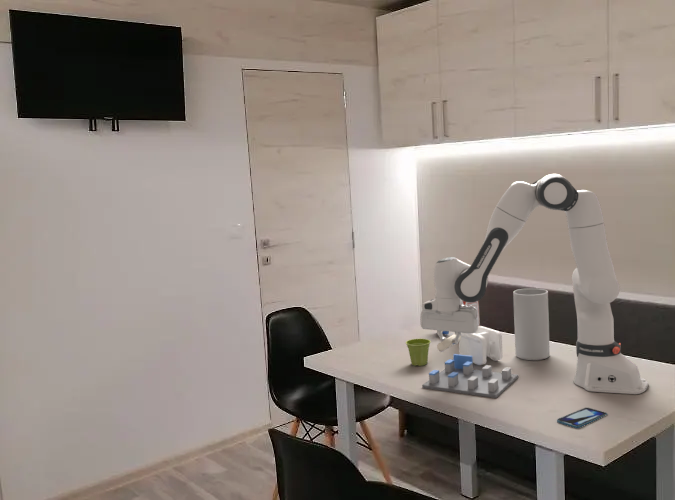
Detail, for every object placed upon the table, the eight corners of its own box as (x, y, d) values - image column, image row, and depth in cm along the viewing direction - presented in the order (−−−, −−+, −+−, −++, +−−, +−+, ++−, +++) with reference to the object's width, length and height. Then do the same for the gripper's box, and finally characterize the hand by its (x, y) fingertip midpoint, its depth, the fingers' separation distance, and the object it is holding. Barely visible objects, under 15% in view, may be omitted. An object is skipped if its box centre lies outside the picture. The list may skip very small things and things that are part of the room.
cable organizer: (504, 362, 248) (503, 332, 247) (481, 368, 244) (480, 337, 243) (480, 353, 262) (478, 324, 260) (457, 358, 258) (456, 329, 256)
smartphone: (608, 413, 194) (577, 426, 185) (609, 416, 194) (577, 430, 185) (586, 406, 200) (555, 419, 191) (586, 410, 200) (555, 422, 191)
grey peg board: (518, 377, 231) (517, 360, 230) (496, 398, 213) (495, 380, 212) (448, 369, 245) (447, 353, 245) (422, 387, 227) (421, 370, 226)
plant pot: (415, 369, 248) (413, 346, 247) (402, 363, 256) (401, 341, 255) (436, 364, 252) (435, 342, 251) (423, 358, 260) (422, 337, 259)
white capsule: (454, 340, 239) (454, 332, 238) (462, 341, 237) (462, 332, 237) (435, 351, 226) (435, 343, 225) (443, 353, 224) (443, 344, 224)
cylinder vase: (547, 351, 259) (545, 287, 256) (551, 360, 247) (550, 294, 244) (514, 351, 261) (511, 289, 258) (517, 361, 249) (514, 295, 246)
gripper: (480, 304, 226) (481, 344, 228) (425, 300, 238) (426, 338, 239) (473, 308, 221) (474, 348, 223) (417, 304, 232) (419, 342, 234)
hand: (449, 343), depth 231 cm, fingers closed on white capsule, 3 cm apart
